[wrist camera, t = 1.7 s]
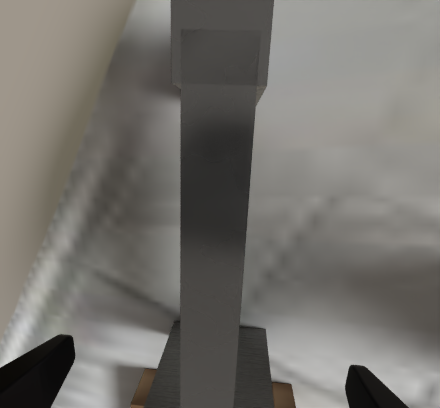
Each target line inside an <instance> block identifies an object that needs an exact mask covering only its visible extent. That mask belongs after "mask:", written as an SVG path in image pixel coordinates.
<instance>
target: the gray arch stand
mask: <svg viewBox="0 0 440 408" xmlns="http://www.w3.org/2000/svg"><path fill="white" fill-rule="evenodd" d="M273 6H274V0H171V83H172V84H174V85H175V86H177V87H178V88H180V89H181V293H180V321H174V324H173V327H172V329H171V332H170V335H169V338H168V340H167V343H166V346H165V349H164V352H163V354H162V357H161V360H160V363H159V366H158V368H157V371H156V374H155V377H154V379H153V382H152V385H151V388H150V391H149V393H148V396H147V399H146V402H145V405H144V407H143V408H274V399H273V391H272V382H271V373H270V365H269V356H268V347H267V338H266V330H265V329H259V328H248V327H239V324H240V311H241V297H242V283H243V270H244V256H245V243H246V229H247V216H248V202H249V188H250V175H251V161H252V148H253V134H254V121H255V107H256V105H257V103H258V102H259V100H260V98H261V96H262V94H263V92H264V90H265V88H266V87H267V78H268V66H269V54H270V42H271V30H272V18H273Z"/></svg>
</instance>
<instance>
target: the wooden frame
mask: <svg viewBox="0 0 440 408" xmlns="http://www.w3.org/2000/svg"><path fill="white" fill-rule="evenodd" d="M156 371H157V370H155V369H145V371H144V373H143V375H142V378H141V380H140V383H139V385H138V388H137V390H136V393H135V395H134V397H133V400H132V402H131V408H143V407H144V405H145V402H146V399H147V396H148V393H149V391H150V388H151V385H152V382H153V379H154V377H155V374H156ZM272 391H273V399H274V408H296V406H295V401H294V396H293V390H292V385H291V384H284V383H275V382H272Z"/></svg>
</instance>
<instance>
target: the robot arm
mask: <svg viewBox="0 0 440 408" xmlns="http://www.w3.org/2000/svg"><path fill="white" fill-rule="evenodd" d="M74 360H75V348H74V341H73V337H72V336H71V335H63V334H60V335H57V336H55V337H54V338H52V339H50V340H48V341H46V342H45V343H43V344H41V345H39V346H38V347H36V348H34V349H32V350H31V351H29V352H27V353H25V354H24V355H22V356H20V357H18V358H17V359H15V360H13V361H11V362H10V363H8V364H6V365H4V366H3V367H1V368H0V408H51V406H52V404H53V402H54V400H55V398H56V396H57V394H58V392H59V390H60V388H61V386H62V384H63V382H64V380H65V378H66V376H67V375H68V373H69V371H70V369H71V367H72V365H73V363H74ZM345 391H346V396H347V400H348V404H349V408H409V407H408V406H407V405H405V404H404V403H403V402H402V401H401V400H400V399H399V398H398V397H397V396H396V395H395V394H394V393H393V392H392V391H391V390H390V389H389V388H388V387H386V386H385V385H384V384H383V383H382V382H381V381H380V380H379V379H378V378H377V377H376V376H375V375H374V374H373V373H372V372H371V371H370V370H368V369H367V368H366V367H365V366H361V365H351V366H350V367H349V370H348V375H347V380H346V384H345Z"/></svg>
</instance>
